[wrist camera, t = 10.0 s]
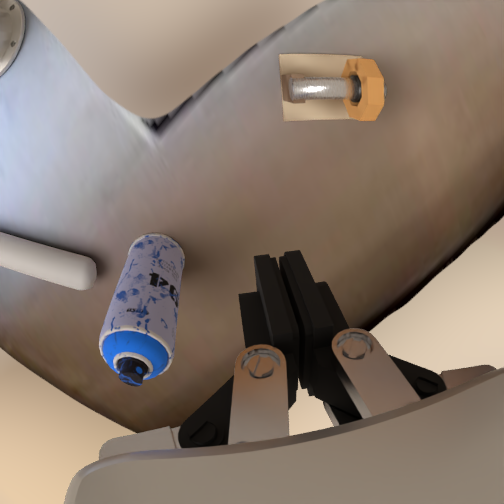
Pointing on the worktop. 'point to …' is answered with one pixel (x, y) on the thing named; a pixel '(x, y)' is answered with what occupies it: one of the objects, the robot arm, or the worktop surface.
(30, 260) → the tube
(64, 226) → the worktop surface
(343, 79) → the pipe
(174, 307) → the aerosol can
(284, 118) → the base board
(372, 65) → the o ring
